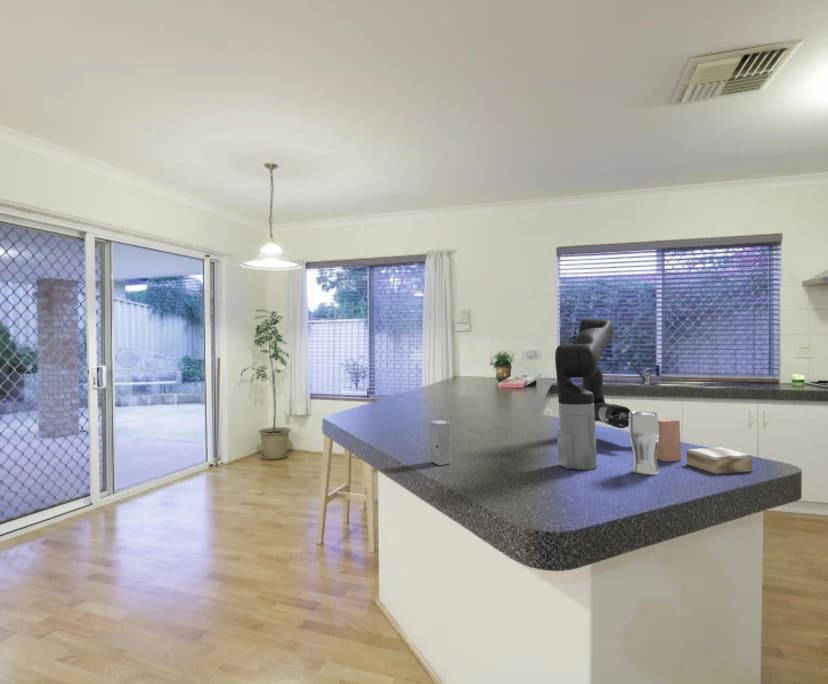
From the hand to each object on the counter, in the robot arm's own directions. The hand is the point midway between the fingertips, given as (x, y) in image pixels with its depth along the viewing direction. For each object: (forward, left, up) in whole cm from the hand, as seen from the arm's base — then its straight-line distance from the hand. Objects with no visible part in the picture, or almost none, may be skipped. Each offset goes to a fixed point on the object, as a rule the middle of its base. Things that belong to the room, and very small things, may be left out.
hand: (642, 422), depth 144 cm
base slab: (+6, -23, -9) cm, 26 cm away
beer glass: (-14, -23, -9) cm, 29 cm away
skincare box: (-63, 0, -9) cm, 64 cm away
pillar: (0, -11, -9) cm, 14 cm away
